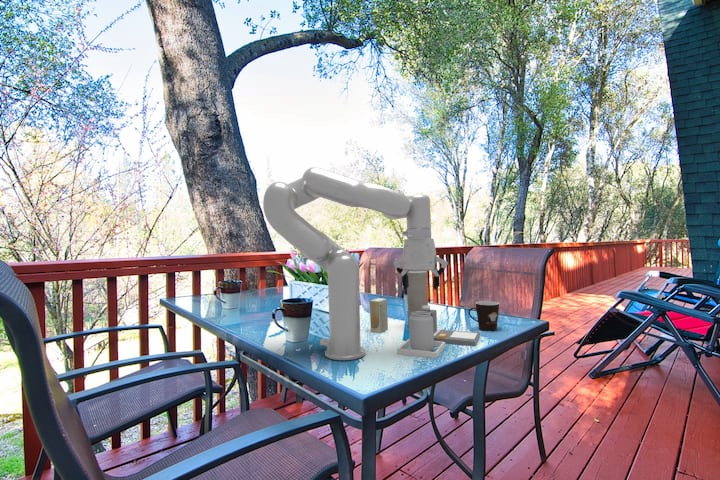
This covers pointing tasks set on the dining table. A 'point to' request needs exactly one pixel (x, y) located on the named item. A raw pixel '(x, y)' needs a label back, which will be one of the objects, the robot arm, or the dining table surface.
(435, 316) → the plug block
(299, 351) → the dining table surface
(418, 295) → the thermos bottle
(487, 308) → the coffee mug
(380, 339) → the dining table surface
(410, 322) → the can
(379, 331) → the skincare box
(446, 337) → the grey flat piece
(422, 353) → the tray
